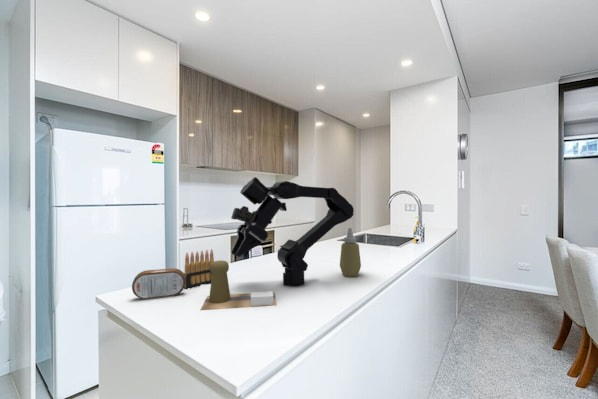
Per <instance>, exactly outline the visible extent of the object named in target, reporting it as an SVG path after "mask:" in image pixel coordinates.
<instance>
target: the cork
mask: <svg viewBox="0 0 598 399" xmlns="http://www.w3.org/2000/svg"><path fill="white" fill-rule="evenodd" d="M229 270H230V266H229V263H228V261H226V260H216V261H215V260H214V262H212V263H211V265H210V271H211V273H212V279H211V284H210V290H209V295H208V296H209V302H211V303H224V302H227V301H229V300H230V299H231V297H230V294H231V292H230V285H229V278H228V272H229Z"/></svg>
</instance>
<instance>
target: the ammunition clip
mask: <svg viewBox="0 0 598 399" xmlns="http://www.w3.org/2000/svg"><path fill="white" fill-rule="evenodd" d="M184 260H185V261H184V272H183V273H184V274H185V276H186V284H185V287H184V289H186V290H189V289H188V288H190V289H193V288H192V287H194V288H197V286H198V287H201V285H203V286H204V285H211V279H212V273H211V271H210V265H211V263H212V262H215V257H214V251H213V249H210V252H209V251H208V249H206V250H205V254H204V251H203V250H201V251H200V253H199V251H198V250H197V251H196V253H195V254H194V252H193V251H191V253H190V257H189V254H188V252H186V254H185V258H184Z"/></svg>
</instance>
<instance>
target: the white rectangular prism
mask: <svg viewBox="0 0 598 399" xmlns="http://www.w3.org/2000/svg"><path fill="white" fill-rule="evenodd" d="M273 292H274V291H272V290H270V291H268V290H267V291H252V292H250V293H251V306H261V307H264V306H263V305H273Z"/></svg>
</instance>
